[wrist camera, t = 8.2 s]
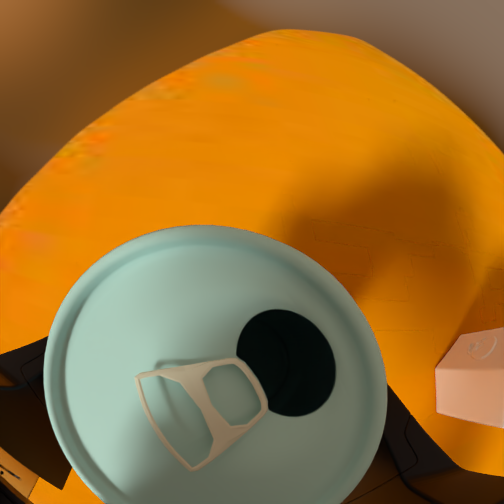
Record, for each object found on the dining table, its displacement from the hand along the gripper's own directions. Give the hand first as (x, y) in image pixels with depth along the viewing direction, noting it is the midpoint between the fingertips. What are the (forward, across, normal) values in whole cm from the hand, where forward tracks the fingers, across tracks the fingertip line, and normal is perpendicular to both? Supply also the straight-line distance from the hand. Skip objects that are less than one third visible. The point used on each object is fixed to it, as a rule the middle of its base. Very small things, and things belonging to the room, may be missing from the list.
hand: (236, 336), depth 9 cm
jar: (+8, -22, +10) cm, 25 cm away
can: (+4, 0, +6) cm, 7 cm away
